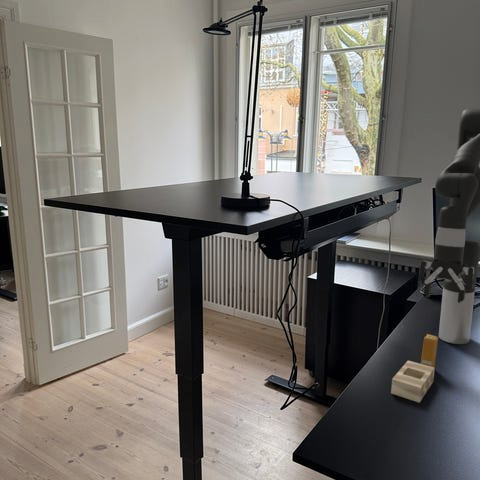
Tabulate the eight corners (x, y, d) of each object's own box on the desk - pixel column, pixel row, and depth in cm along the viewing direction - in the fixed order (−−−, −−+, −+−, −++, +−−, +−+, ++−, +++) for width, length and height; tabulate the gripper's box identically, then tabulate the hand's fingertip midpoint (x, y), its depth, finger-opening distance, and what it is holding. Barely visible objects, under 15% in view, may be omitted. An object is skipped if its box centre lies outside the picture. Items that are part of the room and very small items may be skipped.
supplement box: (432, 373, 122) (435, 340, 121) (419, 370, 124) (422, 337, 123) (435, 369, 125) (438, 336, 123) (422, 366, 127) (425, 333, 125)
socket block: (406, 373, 122) (407, 360, 122) (433, 381, 118) (434, 367, 118) (391, 393, 112) (392, 379, 112) (419, 402, 108) (420, 387, 107)
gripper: (479, 246, 124) (472, 302, 126) (426, 240, 132) (421, 292, 134) (475, 248, 118) (468, 306, 120) (420, 241, 126) (414, 296, 128)
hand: (443, 299), depth 127 cm, fingers open, 8 cm apart
